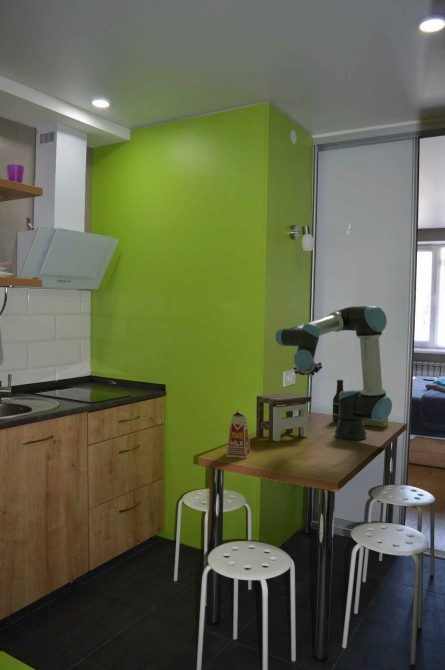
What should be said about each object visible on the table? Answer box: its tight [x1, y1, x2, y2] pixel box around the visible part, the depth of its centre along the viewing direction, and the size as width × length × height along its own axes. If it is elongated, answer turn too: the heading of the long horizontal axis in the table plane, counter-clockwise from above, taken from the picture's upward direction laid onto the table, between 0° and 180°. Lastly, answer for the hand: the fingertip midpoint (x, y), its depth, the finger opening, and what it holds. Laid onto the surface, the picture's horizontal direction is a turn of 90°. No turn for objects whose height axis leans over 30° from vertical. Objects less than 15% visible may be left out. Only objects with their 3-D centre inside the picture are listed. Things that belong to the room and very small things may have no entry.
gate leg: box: [272, 402, 309, 442], centre depth 256 cm, size 2×20×16 cm, turn 126°
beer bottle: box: [332, 379, 344, 423], centre depth 302 cm, size 8×8×24 cm
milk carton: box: [225, 408, 251, 459], centre depth 225 cm, size 9×9×20 cm
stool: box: [255, 392, 312, 442], centre depth 261 cm, size 16×22×20 cm
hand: (311, 374), depth 254 cm, fingers closed
